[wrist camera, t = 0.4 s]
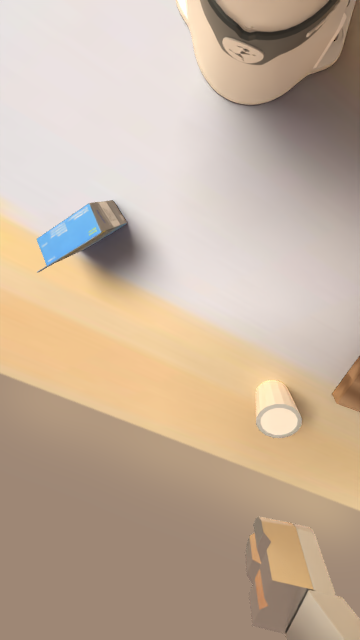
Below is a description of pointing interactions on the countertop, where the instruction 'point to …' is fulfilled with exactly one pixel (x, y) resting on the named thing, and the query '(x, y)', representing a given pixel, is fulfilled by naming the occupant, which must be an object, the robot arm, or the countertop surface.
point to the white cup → (276, 410)
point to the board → (349, 388)
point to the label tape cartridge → (80, 231)
